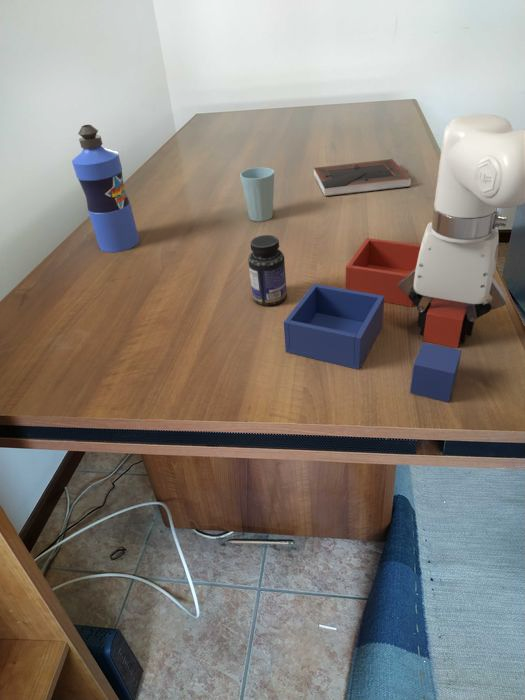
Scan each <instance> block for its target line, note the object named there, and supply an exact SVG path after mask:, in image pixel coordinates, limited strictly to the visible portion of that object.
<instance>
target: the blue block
mask: <svg viewBox="0 0 525 700" xmlns="http://www.w3.org/2000/svg"><path fill="white" fill-rule="evenodd" d="M461 356H462V350H461V349H458V348H454V347H449V346H444V345H439V344H434V343H429V342H422V343H421V346H420V347H419V350H418V353H417V356H416V358H415V360H414V363H413V367H412V374H411V382H410V383H411V384H410V390H409V393H410V394H412V395H417V396H420V397H424V398H428V399H433V400H436V401H441V402H445V403H450V401H451V397H452V393H453V390H454V386H455V384H456V381H457V376H458V370H459V366H460V361H461Z"/></svg>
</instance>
